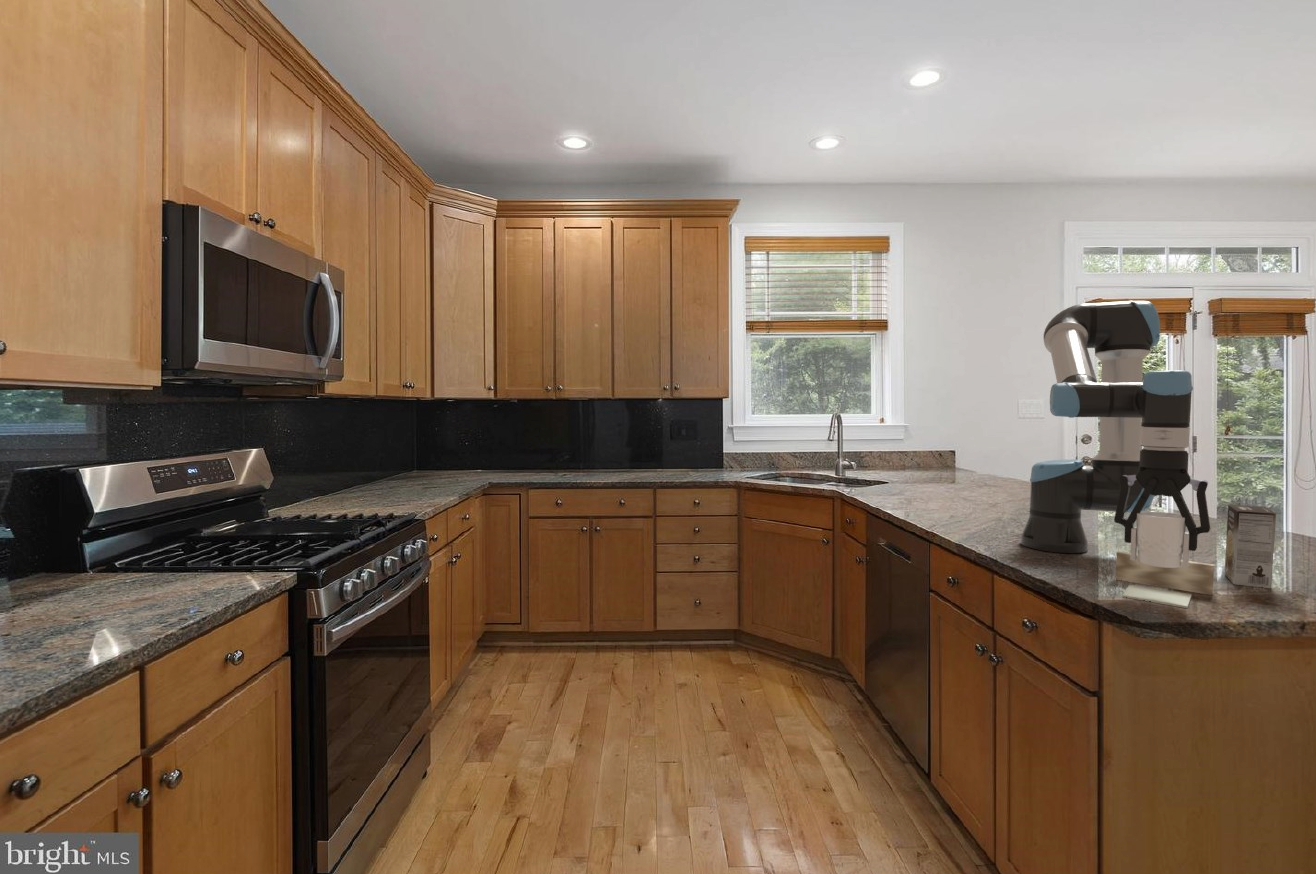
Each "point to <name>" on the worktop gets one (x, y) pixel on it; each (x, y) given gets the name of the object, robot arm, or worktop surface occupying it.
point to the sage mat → (1158, 595)
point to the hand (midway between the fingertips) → (1158, 562)
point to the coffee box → (1250, 545)
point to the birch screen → (1166, 574)
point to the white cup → (1160, 538)
